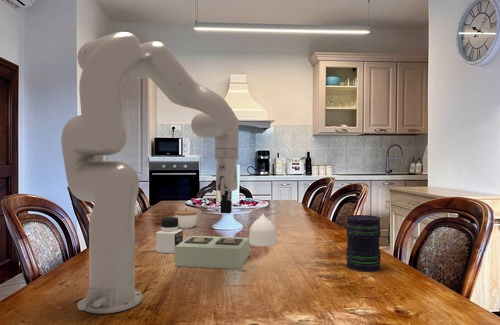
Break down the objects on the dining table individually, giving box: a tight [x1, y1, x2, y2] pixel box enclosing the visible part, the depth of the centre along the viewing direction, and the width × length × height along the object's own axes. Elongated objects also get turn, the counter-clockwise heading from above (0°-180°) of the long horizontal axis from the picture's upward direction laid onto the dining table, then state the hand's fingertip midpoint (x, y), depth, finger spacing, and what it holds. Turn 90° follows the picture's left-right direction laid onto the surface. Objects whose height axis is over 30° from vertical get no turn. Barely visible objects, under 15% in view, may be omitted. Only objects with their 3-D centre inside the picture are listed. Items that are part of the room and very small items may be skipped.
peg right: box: [224, 239, 235, 243], centre depth 116 cm, size 4×4×6 cm
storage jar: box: [345, 214, 382, 273], centre depth 109 cm, size 10×10×15 cm
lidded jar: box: [174, 207, 198, 230], centre depth 176 cm, size 11×11×9 cm
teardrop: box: [248, 212, 278, 247], centre depth 142 cm, size 11×11×12 cm
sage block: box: [174, 235, 250, 270], centre depth 117 cm, size 16×20×6 cm
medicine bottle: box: [155, 216, 184, 254], centre depth 130 cm, size 7×7×12 cm
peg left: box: [193, 238, 205, 242], centre depth 118 cm, size 4×4×6 cm
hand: (226, 212), depth 115 cm, fingers closed
